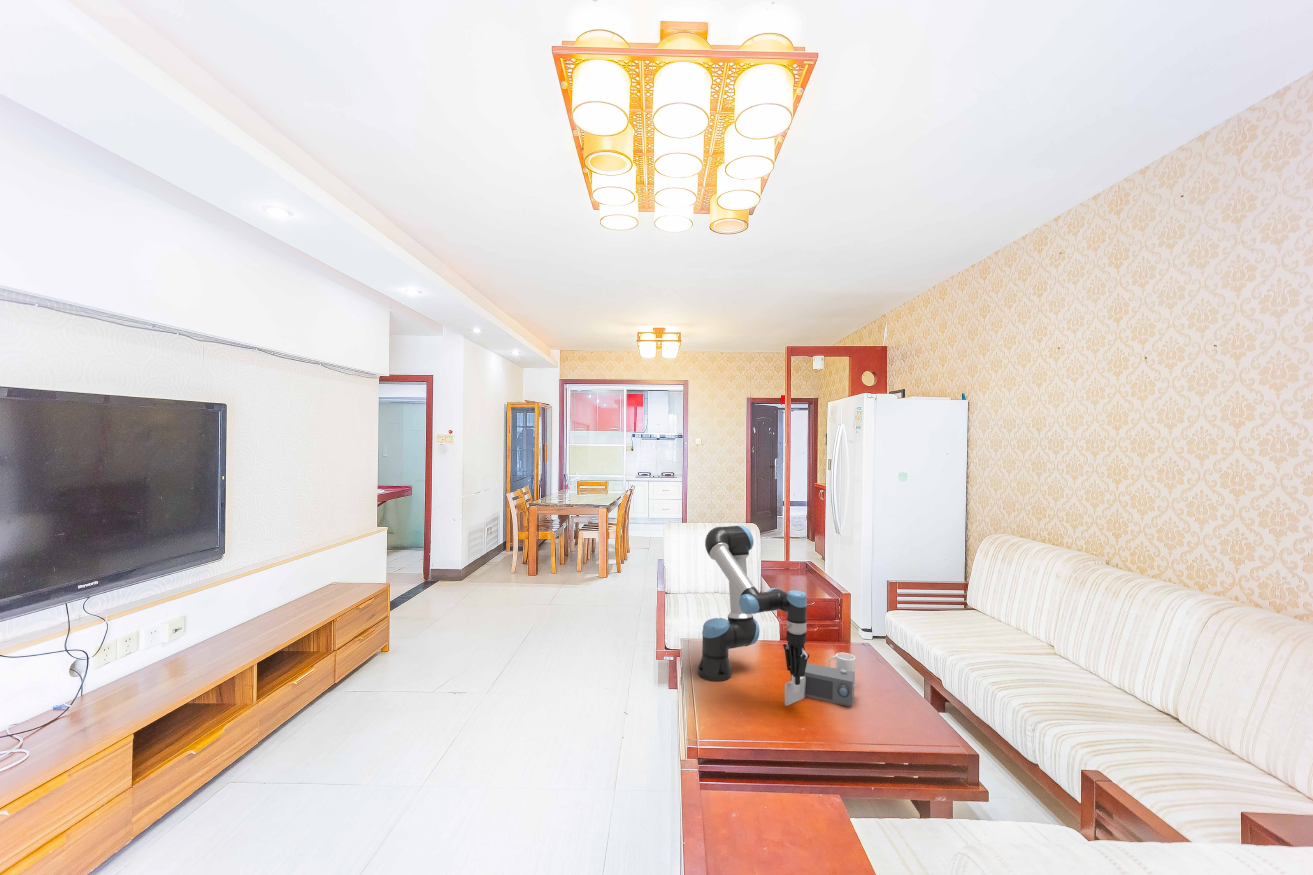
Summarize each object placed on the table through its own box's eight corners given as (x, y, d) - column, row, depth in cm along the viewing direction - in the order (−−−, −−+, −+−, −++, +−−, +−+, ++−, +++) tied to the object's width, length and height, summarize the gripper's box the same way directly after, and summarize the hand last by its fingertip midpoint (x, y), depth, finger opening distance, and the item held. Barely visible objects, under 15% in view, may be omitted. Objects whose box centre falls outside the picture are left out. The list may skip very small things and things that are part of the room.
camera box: (799, 697, 219) (800, 670, 219) (804, 685, 230) (805, 659, 230) (851, 708, 211) (852, 681, 211) (854, 696, 222) (854, 669, 222)
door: (801, 695, 221) (802, 674, 221) (805, 697, 219) (806, 676, 219) (782, 703, 214) (783, 682, 214) (786, 705, 212) (787, 684, 212)
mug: (824, 680, 236) (824, 652, 236) (834, 674, 242) (834, 648, 242) (849, 690, 227) (849, 661, 227) (859, 684, 233) (859, 656, 233)
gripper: (778, 627, 216) (777, 686, 216) (799, 638, 204) (798, 700, 204) (793, 624, 219) (791, 682, 219) (815, 635, 207) (814, 696, 207)
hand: (795, 691), depth 211 cm, fingers closed
